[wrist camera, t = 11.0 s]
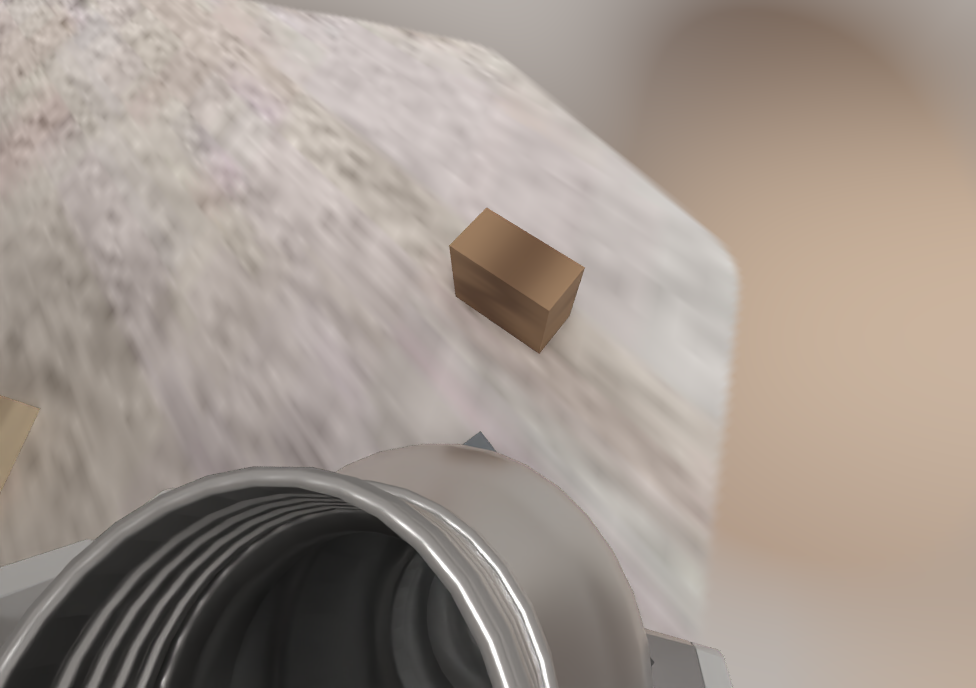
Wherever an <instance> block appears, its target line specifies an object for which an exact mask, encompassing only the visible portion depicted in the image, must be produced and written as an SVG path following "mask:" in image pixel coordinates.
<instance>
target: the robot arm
mask: <svg viewBox="0 0 976 688" xmlns="http://www.w3.org/2000/svg"><path fill="white" fill-rule="evenodd" d="M173 489H175V488H170V489H166V490H163V491H162V492H160V493H159V494H158V495H156V496H155V497H153V498H152V499H151V500H153V499H154V498H156V497H157V496H159V495H161V494H163V493H166V492H168V491H171V490H173ZM151 500H149V501H151ZM149 501H148V502H149ZM148 502H147V503H148ZM145 504H146V503H145ZM93 541H94V540H90V539H86V540H83V541H80V542H77V543H74V544H71V545H68V546H65V547H62V548H58V549H55V550H52V551H49V552H46V553H43V554H40V555H37V556H34V557H31V558H28V559H24V560H21V561H18V562H15V563H12V564H9V565H6V566H3V567H0V648H1V647H2V645H3V644H4V643H5V641H6V640H7V638H8V637H9V635H10V634H11V632H12V631H13V630H14V628H15V627H16V625H17V624H18V622H19V621H20V619H21V618H22V616H23V615H24V614H25V612H26V611H27V609H28V608H29V607H30V606H31V604H32V603H33V602H34V601H35V600H36V599H37V598H38V597H39V595H40V594H41V593H42V592H43V591H44V590H45V589H46V588H47V586H48V585H49V584H50V583H51V582H52V581H53V580H54V579H55V578H56V576H57V575H58V574H59V573H60V572H61V571H62V570H63V569H64V567H65V566H66V565H67V564H68V563H69V562H70V561H71V560H72V559H73V558H74V557H75V556H77V555H78V554H79V553H80V552H81V551H82V550H84V549H85V548H86V547H87V546H88V545H89V544H91V543H92V542H93ZM644 629H645V628H644ZM645 633H646V636H647V640H648V645H649V653H650V661H651V669H652V677H653V685H654V688H733V685H732V682H731V678H730V675H729V672H728V669H727V665H726V662H725V659H724V656H723V654H722V653H721V652H720V651H719V650H717V649H714V648H710V647H707V646H703V645H700V644H697V643H693V642H689V641H687V640H683V639H680V638H676V637H673V636H669V635H666V634H662V633H659V632H655V631H652V630H648V629H645Z"/></svg>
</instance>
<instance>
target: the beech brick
mask: <svg viewBox="0 0 976 688" xmlns="http://www.w3.org/2000/svg"><path fill="white" fill-rule="evenodd" d="M39 410H40V409H39V408H36V407H34V406H31V405H28V404H25V403H22V402H19V401H16V400H13V399H10V398H7V397H4V396H1V395H0V493H1V490H2V488H3V486H4V484H5V482H6V480H7V478H8V476H9V474H10V471H11V469H12V467H13V465H14V463H15V461H16V459H17V457H18V455H19V452H20V450H21V448H22V446H23V444H24V442H25V440H26V438H27V436H28V433H29V431H30V429H31V427H32V425H33V423H34V421H35V419H36V417H37V414H38V412H39Z"/></svg>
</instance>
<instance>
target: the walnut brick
mask: <svg viewBox="0 0 976 688" xmlns="http://www.w3.org/2000/svg"><path fill="white" fill-rule="evenodd" d="M449 247H450V255H451V263H452V271H453V278H454V286H455V294H456V297H457V298H459V299H460V300H462V301H463V302H465V303H466V304H468V305H469V306H471V307H472V308H473V309H475V310H476V311H478V312H479V313H481V314H482V315H484V316H485V317H487V318H488V319H489V320H491V321H492V322H494V323H495V324H497V325H498V326H500V327H501V328H503V329H504V330H505V331H507V332H508V333H510V334H511V335H513V336H514V337H516V338H517V339H519V340H520V341H521V342H523V343H524V344H526V345H527V346H529V347H530V348H532V349H533V350H535V351H536V352H538V353H540V352H541V351H542V350H543V348H544V347H545V346H546V345H547V343H548V342H549V341H550V340H551V338H552V337H553V336H554V335H555V333H556V332H557V331H558V330H559V328H560V327H561V326H562V324H563V323H564V322H565V321H566V319H567V318H568V317H569V316H570V312H571V309H572V306H573V303H574V300H575V297H576V294H577V290H578V287H579V284H580V281H581V278H582V275H583V272H584V269H585V267H583V266H581V265H580V264H578V263H576V262H575V261H573V260H572V259H570V258H568V257H567V256H565V255H563V254H562V253H560V252H558V251H557V250H555V249H554V248H552V247H550V246H549V245H547V244H545V243H544V242H542V241H540V240H539V239H537V238H536V237H534V236H532V235H531V234H529V233H527V232H526V231H524V230H522V229H521V228H519V227H518V226H516V225H514V224H513V223H511V222H509V221H508V220H506V219H504V218H503V217H501V216H500V215H498V214H496V213H495V212H493V211H491V210H490V209H488V208H486V209H485V210H484V211H483V212H482V213H481V214H480V215H479V216H478V217H477V218H476V219H475V220H474V221H473V222H472V223H471V224H470V225H469V226H468V227H467V228H466V229H465V230H464V231H463V232H462V233H461V234H460V235H459V236H458V237H457V238H456V239H455V240H454V241H453V242H452V243H451V244H450V245H449Z"/></svg>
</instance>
